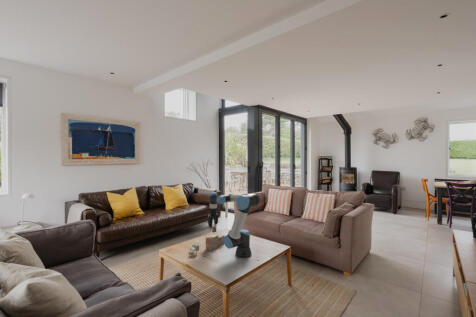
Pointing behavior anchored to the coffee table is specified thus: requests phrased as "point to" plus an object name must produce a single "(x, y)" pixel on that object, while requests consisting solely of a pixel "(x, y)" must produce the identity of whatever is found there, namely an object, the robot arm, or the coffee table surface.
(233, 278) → the coffee table surface
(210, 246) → the stack of blocks
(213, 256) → the coffee table surface
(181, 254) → the coffee table surface
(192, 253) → the maple brick
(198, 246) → the grey brick
